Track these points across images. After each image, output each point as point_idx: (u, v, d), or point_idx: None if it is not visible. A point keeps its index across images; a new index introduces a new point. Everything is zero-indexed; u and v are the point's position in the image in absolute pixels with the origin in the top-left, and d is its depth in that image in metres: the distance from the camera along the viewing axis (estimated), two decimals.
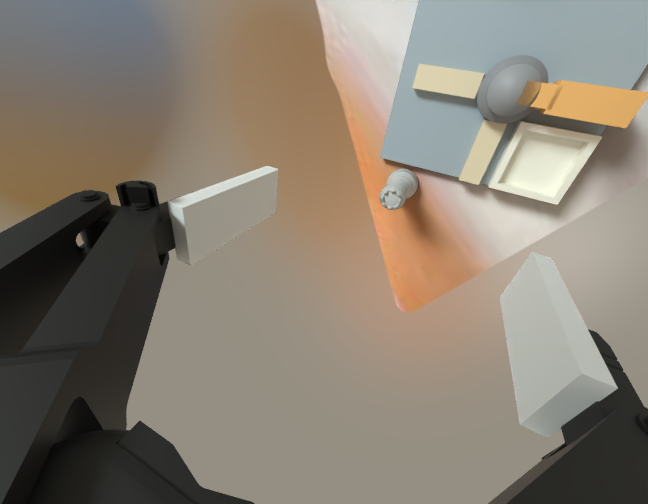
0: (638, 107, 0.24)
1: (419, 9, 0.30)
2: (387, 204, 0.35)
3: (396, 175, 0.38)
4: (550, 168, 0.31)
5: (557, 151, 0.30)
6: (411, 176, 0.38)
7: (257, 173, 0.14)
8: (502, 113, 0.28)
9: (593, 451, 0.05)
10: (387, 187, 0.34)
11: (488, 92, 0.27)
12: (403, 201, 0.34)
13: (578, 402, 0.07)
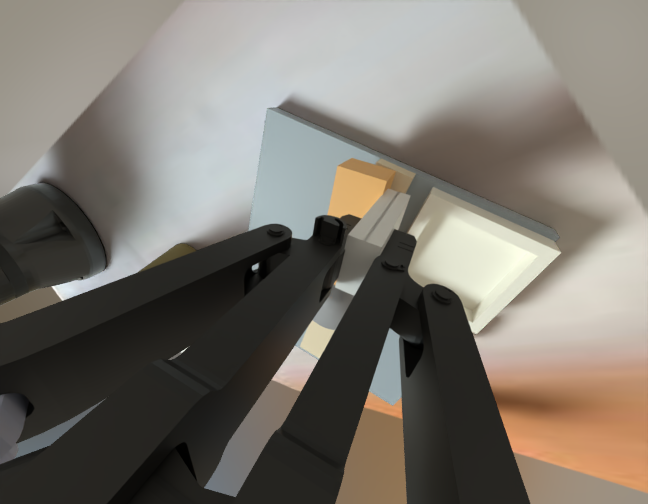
0: (356, 174, 0.15)
1: None
2: None
3: None
4: (475, 243, 0.18)
5: (445, 234, 0.18)
6: None
7: (387, 197, 0.14)
8: None
9: (363, 293, 0.08)
10: None
11: (327, 327, 0.21)
12: None
13: (368, 264, 0.11)
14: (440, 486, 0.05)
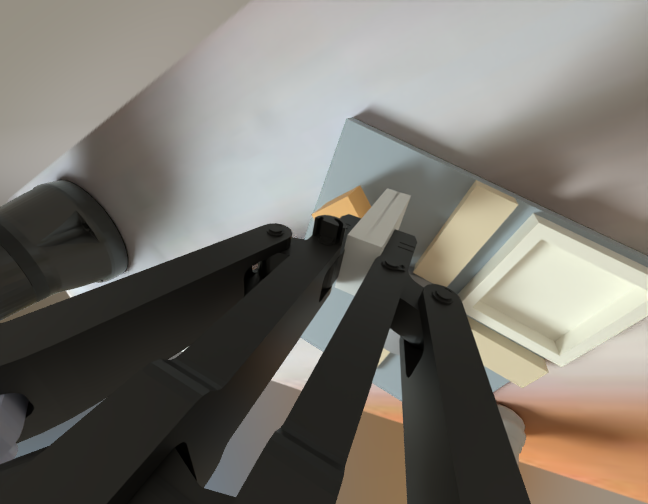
0: (326, 209, 0.17)
1: (306, 339, 0.30)
2: None
3: None
4: (572, 274, 0.16)
5: (538, 262, 0.17)
6: None
7: (387, 197, 0.14)
8: None
9: (363, 293, 0.08)
10: None
11: None
12: None
13: (368, 264, 0.11)
14: (440, 486, 0.05)
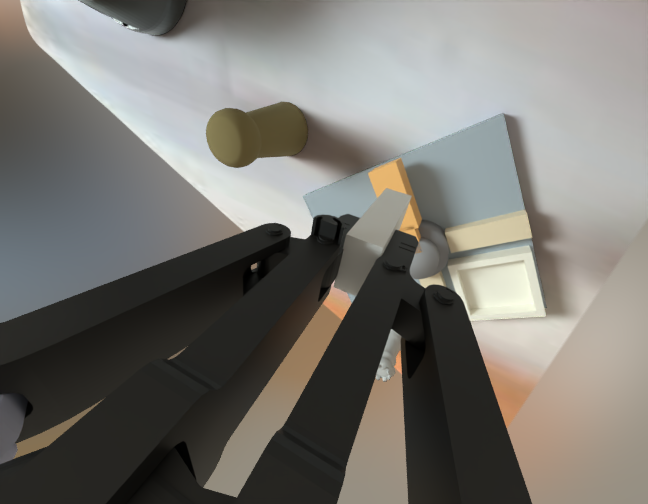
0: (379, 170, 0.25)
1: None
2: (381, 376, 0.35)
3: None
4: (511, 283, 0.29)
5: (504, 269, 0.29)
6: None
7: (386, 197, 0.14)
8: (435, 257, 0.27)
9: (365, 294, 0.08)
10: None
11: (425, 276, 0.28)
12: (392, 369, 0.34)
13: (369, 264, 0.11)
14: (442, 487, 0.05)
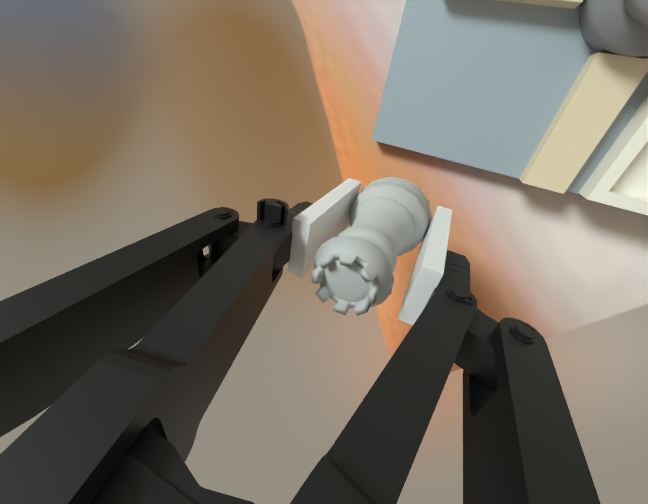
0: None
1: None
2: (335, 294, 0.11)
3: (373, 195, 0.14)
4: None
5: None
6: (414, 200, 0.14)
7: (346, 185, 0.15)
8: None
9: (424, 322, 0.07)
10: (333, 242, 0.10)
11: None
12: (386, 292, 0.10)
13: (425, 290, 0.10)
14: None
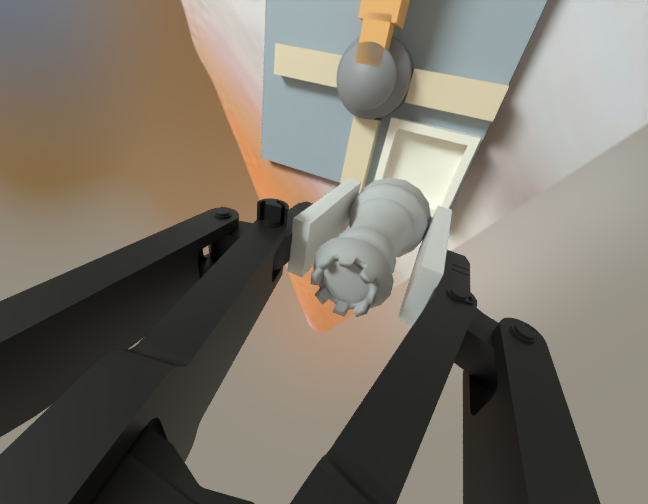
0: None
1: None
2: (334, 296, 0.11)
3: (373, 196, 0.14)
4: (435, 176, 0.26)
5: (440, 155, 0.25)
6: (414, 201, 0.14)
7: (346, 185, 0.15)
8: (389, 83, 0.20)
9: (424, 322, 0.07)
10: (333, 244, 0.10)
11: (363, 108, 0.22)
12: (385, 293, 0.10)
13: (425, 290, 0.10)
14: None
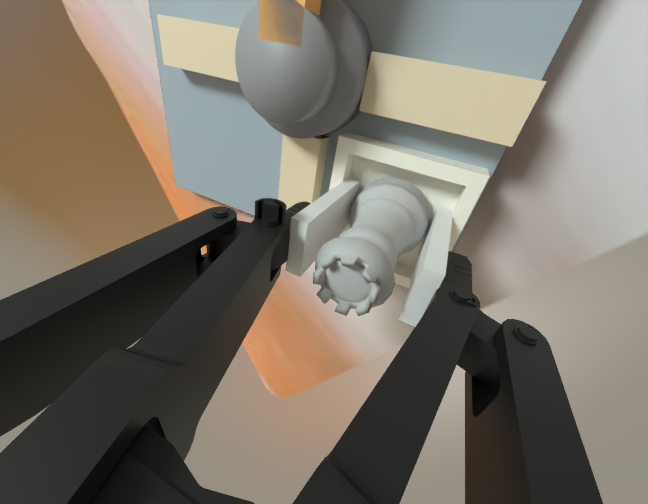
0: None
1: None
2: (336, 295, 0.11)
3: (373, 196, 0.14)
4: None
5: None
6: (414, 200, 0.14)
7: (344, 185, 0.15)
8: (319, 76, 0.11)
9: (427, 324, 0.07)
10: (334, 243, 0.10)
11: (283, 121, 0.12)
12: (387, 292, 0.10)
13: (427, 292, 0.10)
14: None
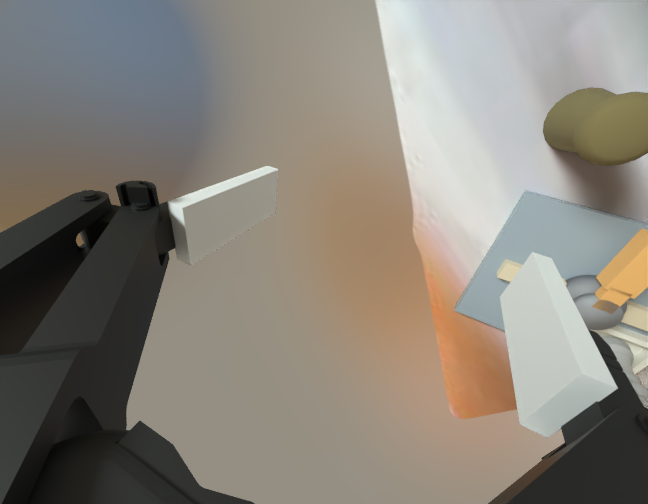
0: None
1: (511, 223, 0.34)
2: None
3: (612, 349, 0.34)
4: None
5: None
6: (630, 353, 0.34)
7: (257, 173, 0.14)
8: (616, 322, 0.31)
9: (593, 451, 0.05)
10: None
11: (588, 328, 0.33)
12: None
13: (578, 402, 0.07)
14: None
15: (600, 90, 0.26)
